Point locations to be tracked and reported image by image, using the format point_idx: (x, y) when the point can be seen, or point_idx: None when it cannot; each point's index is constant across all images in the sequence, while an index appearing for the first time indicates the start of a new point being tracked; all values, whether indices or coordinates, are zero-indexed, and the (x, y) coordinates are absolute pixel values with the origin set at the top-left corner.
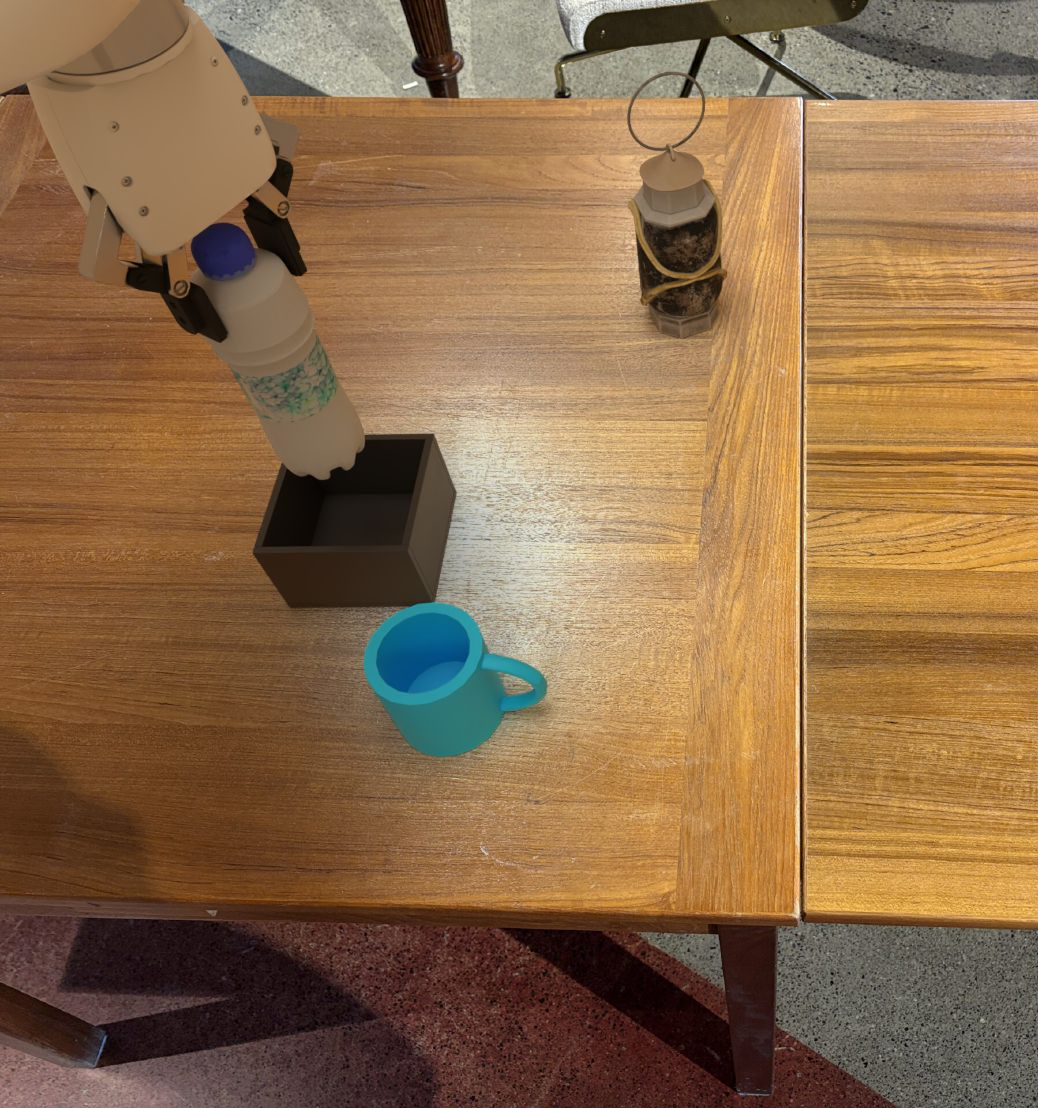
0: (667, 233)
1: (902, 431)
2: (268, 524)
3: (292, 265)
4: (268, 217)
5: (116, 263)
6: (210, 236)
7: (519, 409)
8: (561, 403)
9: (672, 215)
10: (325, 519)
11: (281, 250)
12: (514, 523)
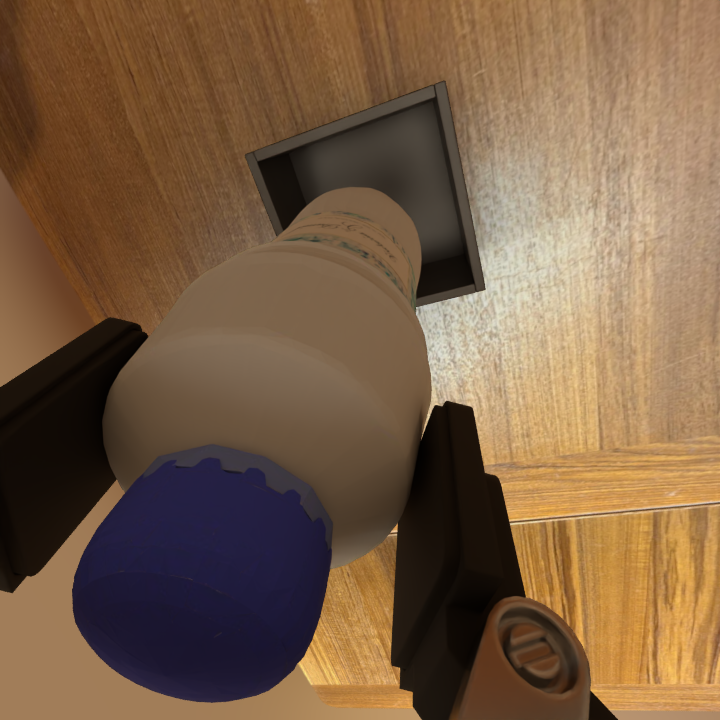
0: None
1: (595, 570)
2: (289, 150)
3: (399, 526)
4: (414, 688)
5: None
6: (142, 665)
7: (610, 275)
8: (622, 317)
9: None
10: (396, 124)
11: (402, 554)
12: (444, 328)
